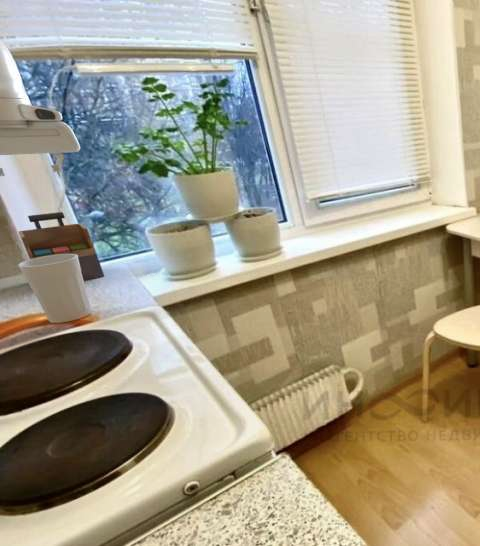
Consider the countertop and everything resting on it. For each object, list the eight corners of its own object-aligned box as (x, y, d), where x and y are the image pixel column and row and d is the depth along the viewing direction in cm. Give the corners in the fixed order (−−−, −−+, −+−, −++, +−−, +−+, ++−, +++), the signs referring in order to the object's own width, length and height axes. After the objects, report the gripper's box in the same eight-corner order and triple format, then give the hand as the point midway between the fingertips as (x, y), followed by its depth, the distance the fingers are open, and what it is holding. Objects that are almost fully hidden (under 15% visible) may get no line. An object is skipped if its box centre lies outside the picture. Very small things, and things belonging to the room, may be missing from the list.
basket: (32, 265, 97) (15, 223, 94) (28, 256, 103) (12, 217, 100) (96, 254, 105) (82, 214, 102) (89, 247, 112) (75, 209, 108)
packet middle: (55, 256, 102) (53, 251, 101) (52, 252, 105) (51, 248, 104) (71, 253, 104) (69, 249, 103) (68, 250, 107) (66, 245, 106)
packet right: (73, 253, 104) (71, 248, 103) (70, 250, 107) (68, 245, 106) (88, 251, 106) (87, 246, 105) (85, 247, 109) (83, 243, 108)
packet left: (36, 259, 99) (34, 254, 99) (34, 255, 102) (32, 251, 102) (53, 256, 101) (51, 252, 101) (51, 253, 104) (49, 248, 104)
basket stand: (42, 288, 99) (32, 265, 97) (38, 280, 105) (28, 257, 103) (104, 276, 107) (96, 254, 105) (97, 268, 113) (89, 247, 111)
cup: (105, 311, 87) (85, 256, 83) (53, 327, 80) (29, 268, 76) (86, 305, 90) (66, 252, 86) (35, 320, 83) (10, 263, 79)
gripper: (-70, 111, 86) (-39, 179, 91) (69, 112, 101) (89, 171, 106) (-68, 112, 90) (-39, 177, 95) (65, 113, 105) (85, 169, 110)
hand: (30, 174), depth 100 cm, fingers open, 8 cm apart
